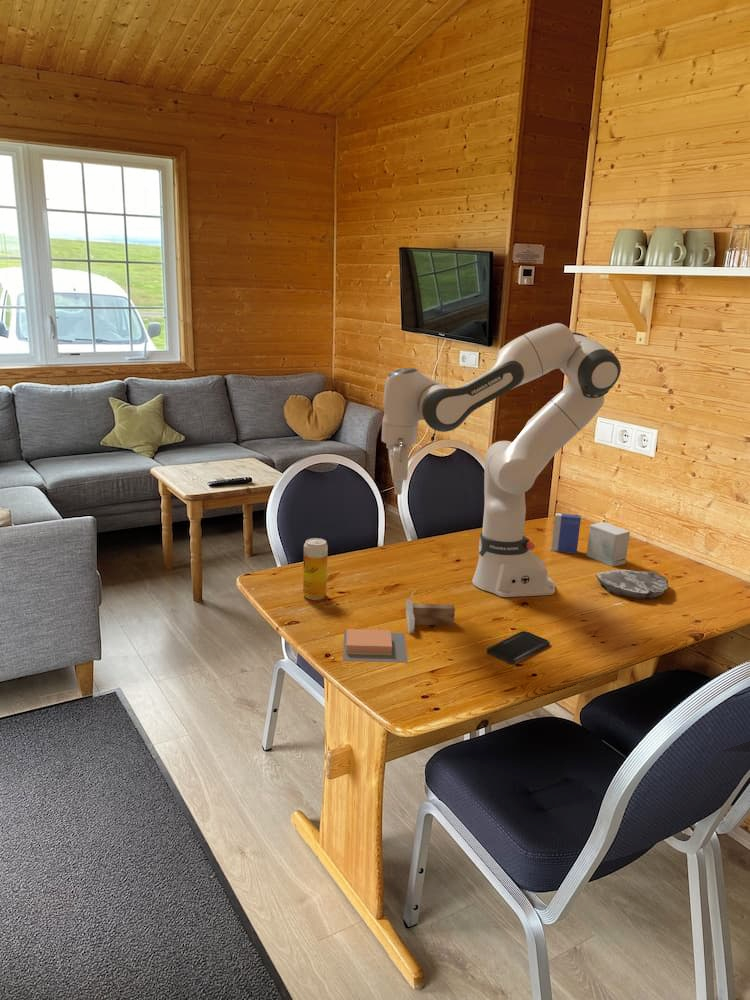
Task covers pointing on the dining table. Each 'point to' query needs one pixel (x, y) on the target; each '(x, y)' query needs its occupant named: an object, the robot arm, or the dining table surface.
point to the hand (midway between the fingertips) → (396, 488)
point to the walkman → (566, 533)
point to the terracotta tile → (369, 642)
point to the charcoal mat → (397, 655)
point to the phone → (518, 647)
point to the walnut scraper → (429, 614)
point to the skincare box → (608, 544)
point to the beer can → (315, 568)
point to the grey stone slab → (633, 583)
